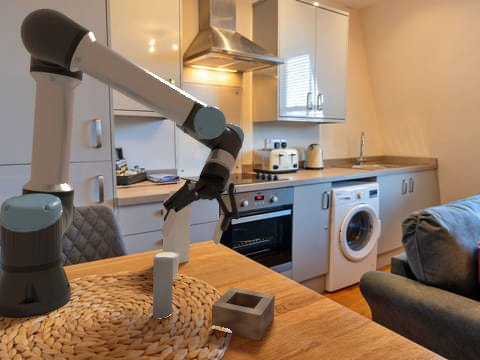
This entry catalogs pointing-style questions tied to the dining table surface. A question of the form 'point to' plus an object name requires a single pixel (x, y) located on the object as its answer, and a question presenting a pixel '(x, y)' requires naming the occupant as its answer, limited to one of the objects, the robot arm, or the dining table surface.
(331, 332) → the dining table surface
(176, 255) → the grey and white cylinder
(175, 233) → the milk
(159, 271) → the grey cylinder
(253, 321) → the socket
